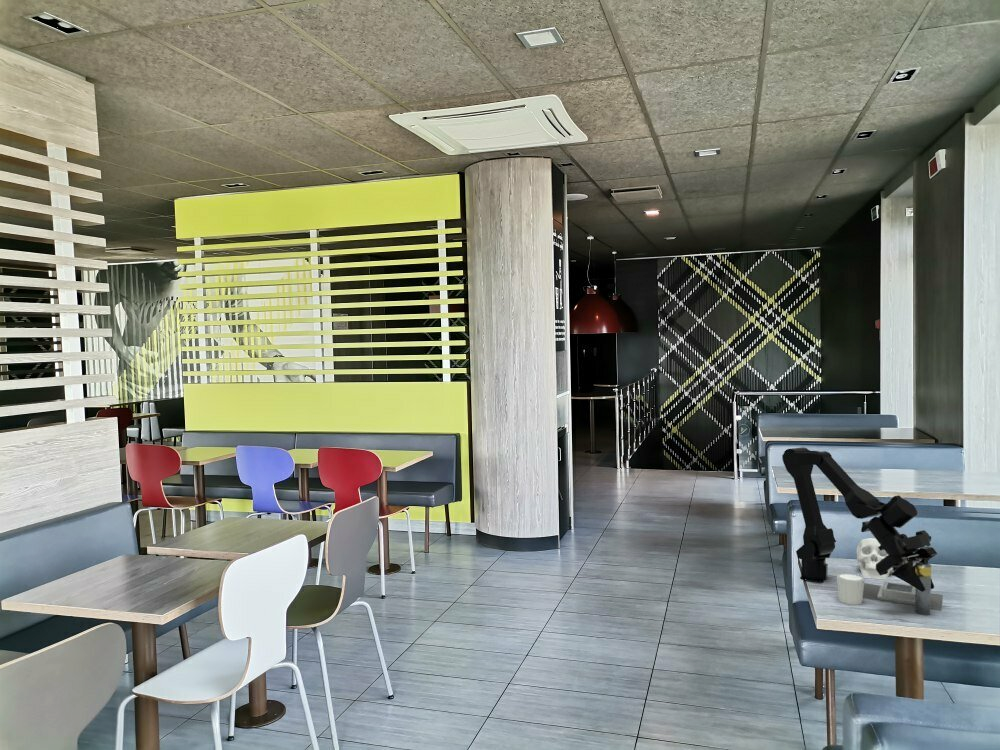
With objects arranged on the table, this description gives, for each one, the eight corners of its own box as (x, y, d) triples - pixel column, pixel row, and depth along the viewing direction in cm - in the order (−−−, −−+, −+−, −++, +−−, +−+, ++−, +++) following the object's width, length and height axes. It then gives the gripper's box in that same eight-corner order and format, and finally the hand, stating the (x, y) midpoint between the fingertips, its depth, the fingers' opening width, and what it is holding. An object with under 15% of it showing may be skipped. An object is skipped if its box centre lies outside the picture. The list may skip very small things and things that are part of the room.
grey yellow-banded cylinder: (914, 614, 187) (915, 565, 187) (915, 610, 190) (916, 561, 190) (930, 617, 186) (931, 567, 185) (930, 613, 188) (931, 563, 188)
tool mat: (848, 597, 201) (848, 595, 201) (854, 583, 213) (854, 581, 213) (941, 612, 189) (941, 610, 189) (942, 596, 201) (942, 594, 201)
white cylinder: (837, 605, 195) (837, 579, 195) (835, 596, 202) (835, 571, 201) (866, 608, 193) (866, 581, 192) (862, 599, 199) (863, 574, 199)
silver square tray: (877, 599, 198) (877, 589, 198) (880, 588, 206) (880, 579, 206) (919, 605, 193) (919, 596, 193) (921, 594, 201) (921, 585, 201)
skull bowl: (853, 574, 216) (855, 535, 222) (856, 587, 227) (858, 549, 232) (893, 579, 211) (894, 539, 216) (895, 593, 221) (895, 554, 227)
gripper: (886, 525, 186) (929, 579, 177) (930, 516, 195) (972, 568, 186) (858, 548, 193) (897, 601, 184) (902, 538, 202) (941, 589, 193)
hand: (928, 589), depth 186 cm, fingers closed on grey yellow-banded cylinder, 3 cm apart
